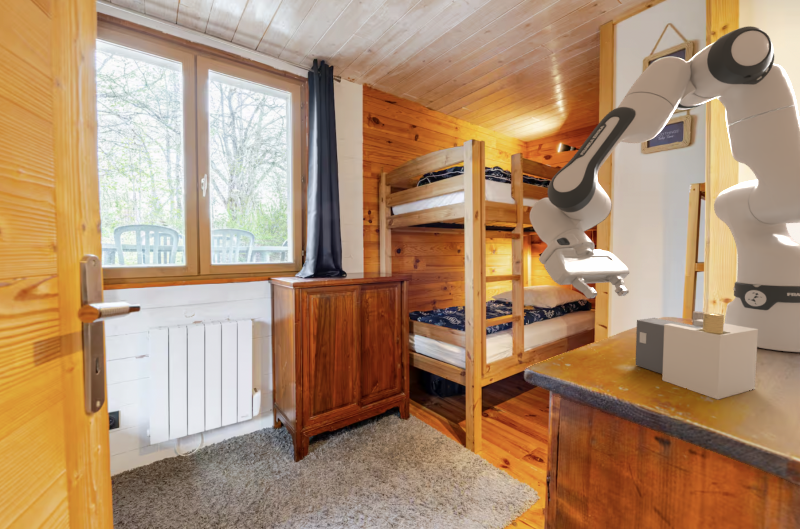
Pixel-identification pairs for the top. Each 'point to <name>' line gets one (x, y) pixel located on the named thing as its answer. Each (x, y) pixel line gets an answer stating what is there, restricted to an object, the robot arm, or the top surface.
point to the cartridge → (652, 342)
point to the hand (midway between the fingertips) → (609, 295)
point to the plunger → (713, 323)
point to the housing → (710, 359)
